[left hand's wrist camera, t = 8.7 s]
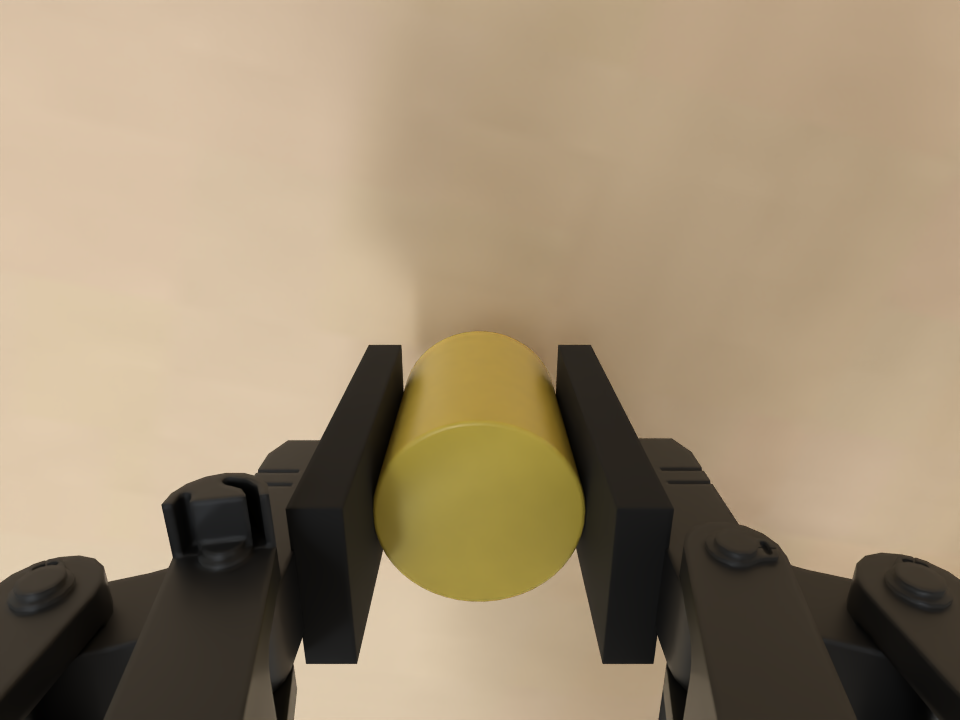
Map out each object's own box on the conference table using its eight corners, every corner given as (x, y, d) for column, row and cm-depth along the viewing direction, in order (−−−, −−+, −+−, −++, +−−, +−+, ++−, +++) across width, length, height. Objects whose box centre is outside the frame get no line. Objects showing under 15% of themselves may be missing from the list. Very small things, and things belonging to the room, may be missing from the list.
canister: (544, 471, 16) (571, 609, 11) (401, 461, 15) (369, 597, 11) (562, 336, 14) (601, 430, 10) (407, 324, 14) (373, 413, 10)
